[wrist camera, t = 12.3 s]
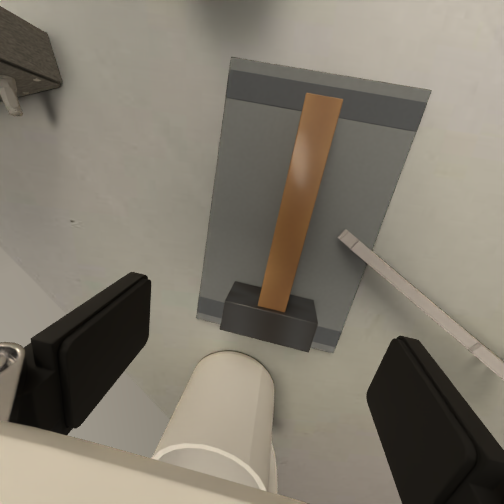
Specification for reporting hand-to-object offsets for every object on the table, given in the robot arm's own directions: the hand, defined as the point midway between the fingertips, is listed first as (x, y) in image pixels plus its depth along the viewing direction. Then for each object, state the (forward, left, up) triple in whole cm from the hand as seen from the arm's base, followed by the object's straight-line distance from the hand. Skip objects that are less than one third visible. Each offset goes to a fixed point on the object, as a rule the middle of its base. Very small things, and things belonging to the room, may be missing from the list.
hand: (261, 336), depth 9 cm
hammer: (+1, +1, -14) cm, 14 cm away
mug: (0, -20, -15) cm, 25 cm away
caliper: (+14, -3, -14) cm, 20 cm away
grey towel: (+1, +1, -15) cm, 15 cm away
